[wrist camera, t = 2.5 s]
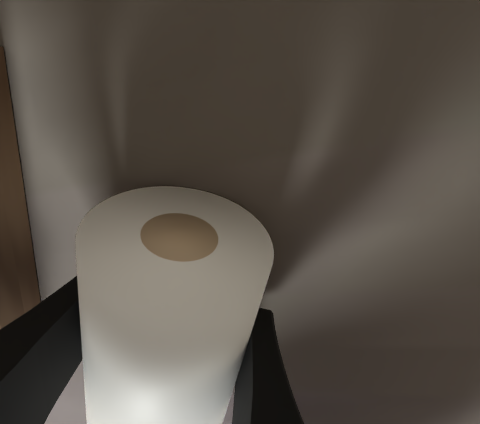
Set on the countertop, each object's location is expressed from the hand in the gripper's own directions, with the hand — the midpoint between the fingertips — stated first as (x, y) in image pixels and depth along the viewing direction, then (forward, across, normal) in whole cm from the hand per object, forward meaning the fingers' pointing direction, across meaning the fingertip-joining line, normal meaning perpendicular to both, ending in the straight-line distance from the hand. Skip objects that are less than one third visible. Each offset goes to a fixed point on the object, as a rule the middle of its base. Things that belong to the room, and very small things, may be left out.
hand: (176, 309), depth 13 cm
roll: (-1, 0, 0) cm, 1 cm away
